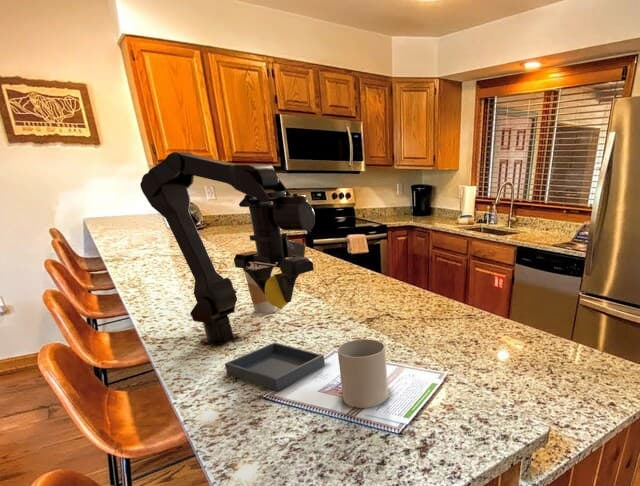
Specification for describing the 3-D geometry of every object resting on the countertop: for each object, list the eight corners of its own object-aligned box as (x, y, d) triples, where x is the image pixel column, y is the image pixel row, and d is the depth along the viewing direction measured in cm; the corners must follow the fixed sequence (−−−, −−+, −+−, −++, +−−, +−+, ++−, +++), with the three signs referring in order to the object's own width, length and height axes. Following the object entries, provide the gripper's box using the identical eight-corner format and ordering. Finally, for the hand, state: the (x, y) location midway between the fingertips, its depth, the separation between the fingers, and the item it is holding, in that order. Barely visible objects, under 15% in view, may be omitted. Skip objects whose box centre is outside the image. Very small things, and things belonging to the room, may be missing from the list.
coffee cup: (286, 309, 130) (278, 259, 123) (263, 316, 123) (253, 265, 117) (269, 305, 134) (260, 256, 128) (245, 312, 127) (235, 262, 121)
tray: (227, 374, 90) (224, 363, 89) (276, 352, 100) (274, 342, 99) (277, 391, 83) (275, 379, 82) (325, 365, 93) (323, 355, 92)
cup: (367, 412, 75) (363, 361, 71) (333, 400, 79) (327, 351, 75) (396, 392, 82) (394, 344, 78) (363, 382, 86) (359, 336, 82)
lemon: (286, 313, 95) (280, 277, 91) (263, 312, 96) (256, 277, 92) (297, 306, 100) (292, 272, 96) (276, 304, 101) (270, 271, 97)
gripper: (326, 227, 93) (334, 296, 99) (266, 222, 101) (277, 287, 107) (288, 234, 84) (299, 310, 90) (225, 228, 92) (240, 298, 98)
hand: (279, 300), depth 97 cm, fingers closed on lemon, 5 cm apart
